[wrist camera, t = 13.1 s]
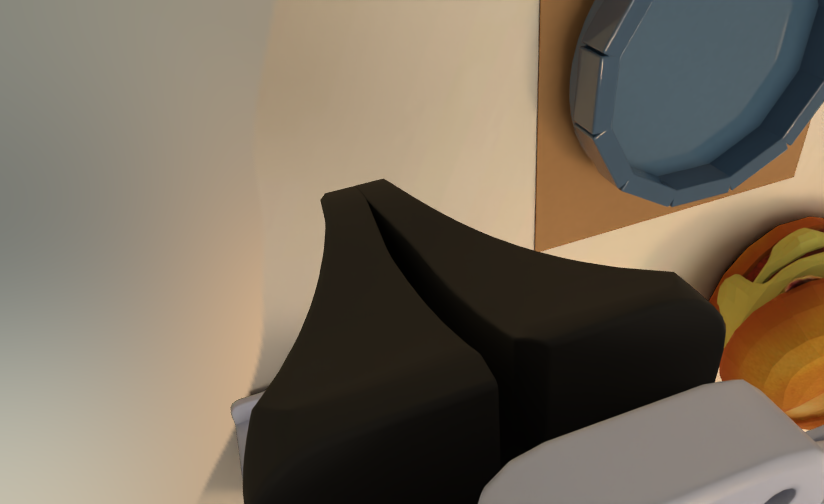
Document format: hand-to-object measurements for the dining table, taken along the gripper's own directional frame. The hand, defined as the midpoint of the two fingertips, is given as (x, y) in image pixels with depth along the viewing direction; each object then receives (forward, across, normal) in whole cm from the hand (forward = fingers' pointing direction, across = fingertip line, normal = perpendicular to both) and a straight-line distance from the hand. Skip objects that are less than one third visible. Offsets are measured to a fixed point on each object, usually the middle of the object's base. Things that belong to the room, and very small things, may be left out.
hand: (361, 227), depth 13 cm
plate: (+9, -15, +2) cm, 18 cm away
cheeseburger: (+10, -23, +17) cm, 30 cm away
